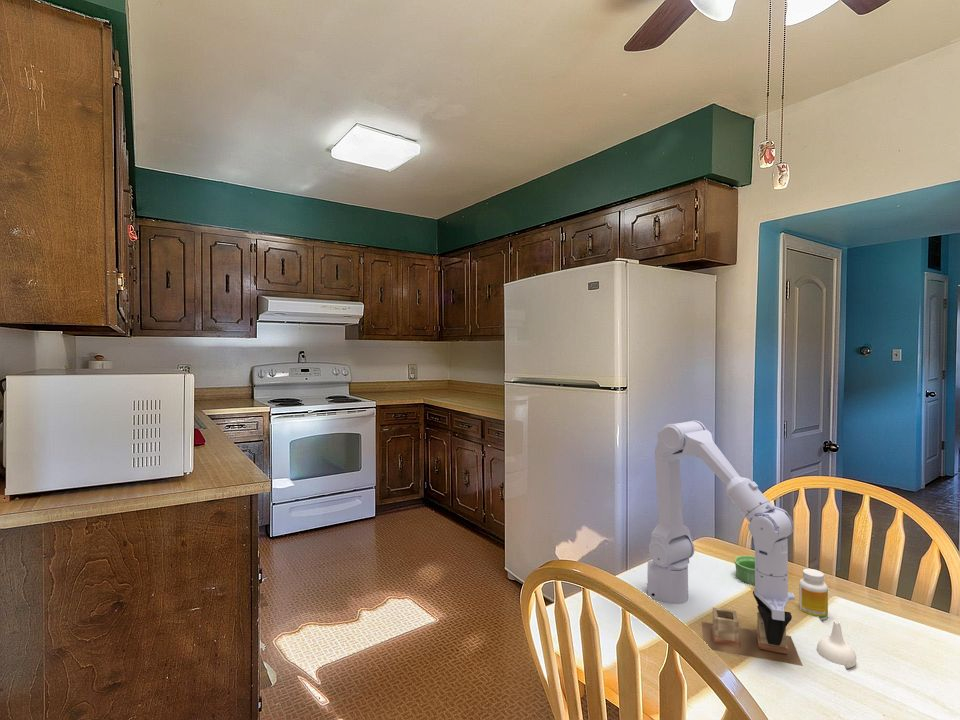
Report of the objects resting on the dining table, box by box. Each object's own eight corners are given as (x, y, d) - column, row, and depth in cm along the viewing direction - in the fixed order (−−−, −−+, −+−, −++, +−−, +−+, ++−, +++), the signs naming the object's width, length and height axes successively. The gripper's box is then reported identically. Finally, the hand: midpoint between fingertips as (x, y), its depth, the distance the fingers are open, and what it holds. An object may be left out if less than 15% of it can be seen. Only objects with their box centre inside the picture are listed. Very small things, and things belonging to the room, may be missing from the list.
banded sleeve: (788, 654, 98) (787, 629, 98) (758, 648, 100) (758, 624, 100) (783, 639, 102) (783, 615, 102) (755, 634, 104) (755, 611, 104)
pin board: (704, 653, 101) (704, 633, 101) (701, 626, 110) (701, 608, 110) (802, 670, 95) (802, 650, 95) (790, 640, 104) (790, 621, 104)
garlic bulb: (810, 658, 99) (808, 620, 99) (827, 645, 102) (825, 608, 102) (846, 677, 94) (844, 636, 93) (863, 662, 97) (861, 623, 96)
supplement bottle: (832, 621, 111) (832, 578, 110) (805, 619, 112) (805, 577, 111) (821, 609, 116) (821, 567, 116) (795, 607, 117) (795, 566, 117)
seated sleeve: (713, 642, 103) (712, 618, 102) (711, 629, 107) (711, 606, 107) (740, 647, 101) (740, 623, 101) (737, 633, 105) (737, 610, 105)
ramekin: (737, 568, 138) (737, 552, 138) (775, 576, 132) (775, 560, 132) (731, 581, 130) (731, 564, 130) (771, 590, 125) (771, 573, 125)
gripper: (803, 590, 92) (803, 662, 93) (786, 558, 106) (786, 621, 106) (759, 584, 95) (760, 655, 95) (748, 553, 108) (749, 615, 109)
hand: (771, 636), depth 101 cm, fingers closed on banded sleeve, 4 cm apart
